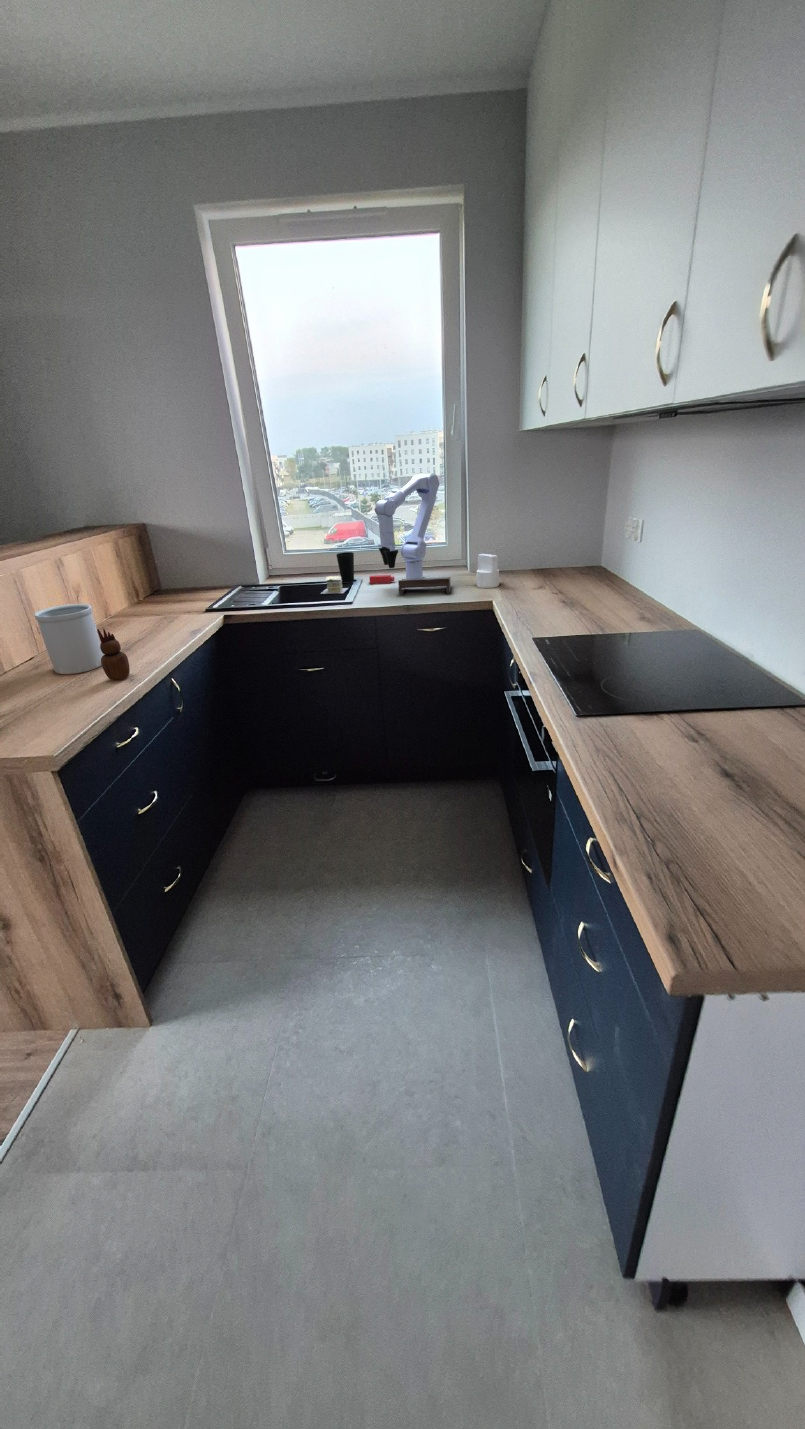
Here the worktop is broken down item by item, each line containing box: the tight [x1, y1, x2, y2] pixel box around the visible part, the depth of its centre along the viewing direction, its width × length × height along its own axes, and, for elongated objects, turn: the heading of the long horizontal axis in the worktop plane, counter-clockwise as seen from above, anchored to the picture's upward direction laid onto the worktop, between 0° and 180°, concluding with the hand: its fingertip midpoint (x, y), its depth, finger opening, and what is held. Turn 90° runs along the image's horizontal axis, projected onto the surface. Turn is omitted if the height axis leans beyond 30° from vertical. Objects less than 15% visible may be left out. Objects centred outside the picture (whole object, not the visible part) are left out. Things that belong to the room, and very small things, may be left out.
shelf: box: [397, 576, 452, 597], centre depth 230 cm, size 12×20×6 cm, turn 84°
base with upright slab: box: [476, 553, 500, 589], centre depth 231 cm, size 9×9×12 cm
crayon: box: [368, 574, 395, 585], centre depth 250 cm, size 3×11×3 cm, turn 84°
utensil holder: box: [33, 603, 104, 675], centre depth 170 cm, size 15×15×18 cm
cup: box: [336, 551, 355, 583], centre depth 256 cm, size 8×8×12 cm
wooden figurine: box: [96, 628, 131, 682], centre depth 158 cm, size 7×6×15 cm
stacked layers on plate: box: [320, 575, 349, 595], centre depth 241 cm, size 10×9×6 cm
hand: (389, 566), depth 237 cm, fingers open, 7 cm apart
